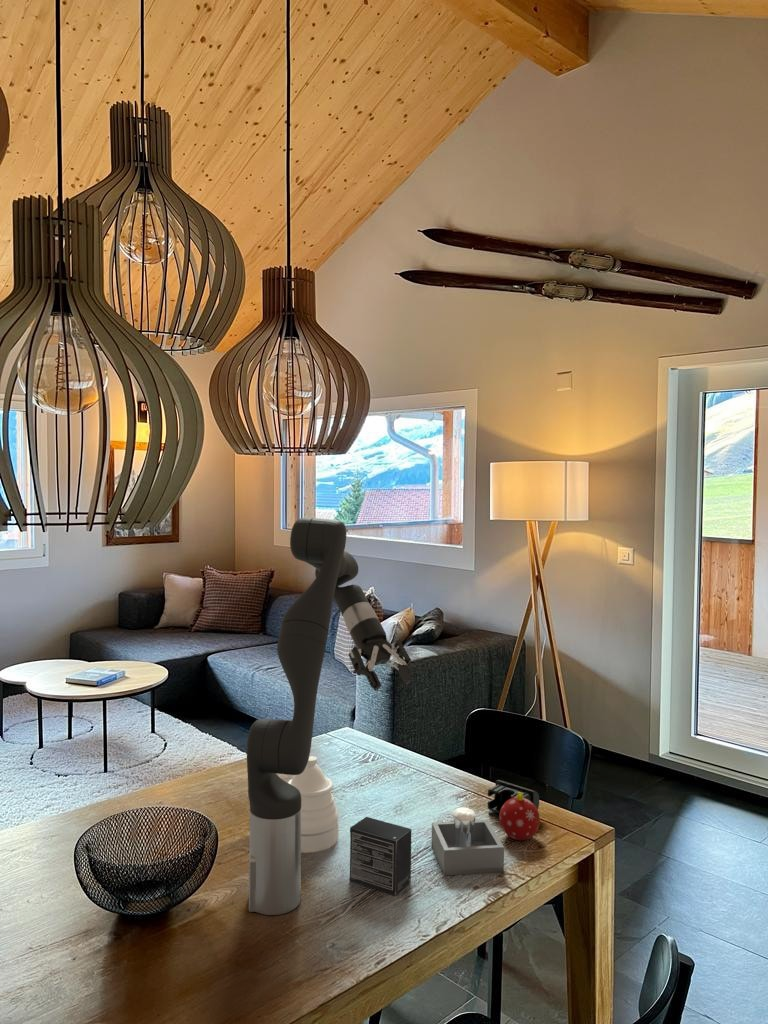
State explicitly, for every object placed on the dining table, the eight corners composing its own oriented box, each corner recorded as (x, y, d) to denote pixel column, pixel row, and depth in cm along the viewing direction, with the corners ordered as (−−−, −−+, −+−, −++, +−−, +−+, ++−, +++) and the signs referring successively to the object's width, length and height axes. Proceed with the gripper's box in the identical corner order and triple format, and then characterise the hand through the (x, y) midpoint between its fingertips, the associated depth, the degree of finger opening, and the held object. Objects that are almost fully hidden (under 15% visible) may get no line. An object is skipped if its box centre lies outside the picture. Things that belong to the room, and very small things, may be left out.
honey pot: (344, 848, 160) (345, 763, 159) (283, 856, 156) (283, 769, 155) (331, 821, 172) (332, 742, 171) (274, 828, 168) (274, 747, 167)
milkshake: (477, 860, 153) (478, 811, 153) (451, 857, 154) (452, 808, 154) (479, 849, 158) (480, 802, 157) (453, 846, 159) (454, 799, 158)
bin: (443, 875, 149) (444, 850, 149) (431, 845, 161) (431, 822, 161) (503, 871, 151) (504, 847, 151) (487, 842, 163) (487, 819, 162)
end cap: (539, 816, 176) (540, 787, 176) (523, 827, 170) (524, 797, 170) (501, 804, 182) (502, 776, 182) (485, 814, 177) (486, 785, 177)
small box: (412, 881, 147) (413, 827, 146) (396, 897, 141) (396, 841, 141) (366, 866, 152) (366, 814, 152) (348, 880, 147) (348, 827, 146)
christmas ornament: (526, 851, 159) (527, 804, 159) (491, 838, 165) (492, 792, 164) (546, 837, 166) (547, 791, 165) (512, 825, 171) (513, 781, 171)
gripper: (345, 619, 173) (375, 681, 165) (395, 613, 182) (425, 671, 174) (332, 638, 178) (360, 699, 169) (381, 631, 187) (410, 689, 178)
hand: (393, 685), depth 172 cm, fingers open, 8 cm apart
